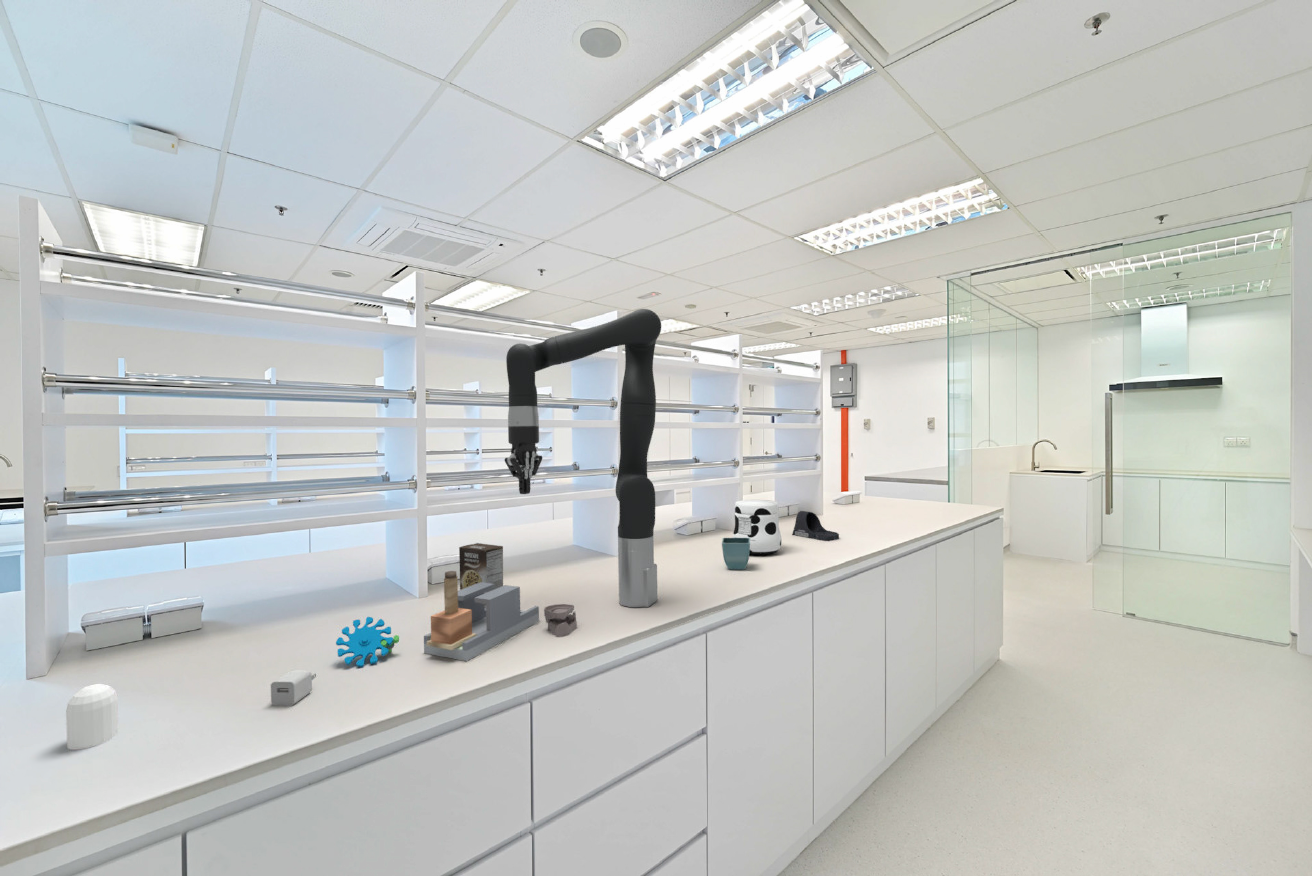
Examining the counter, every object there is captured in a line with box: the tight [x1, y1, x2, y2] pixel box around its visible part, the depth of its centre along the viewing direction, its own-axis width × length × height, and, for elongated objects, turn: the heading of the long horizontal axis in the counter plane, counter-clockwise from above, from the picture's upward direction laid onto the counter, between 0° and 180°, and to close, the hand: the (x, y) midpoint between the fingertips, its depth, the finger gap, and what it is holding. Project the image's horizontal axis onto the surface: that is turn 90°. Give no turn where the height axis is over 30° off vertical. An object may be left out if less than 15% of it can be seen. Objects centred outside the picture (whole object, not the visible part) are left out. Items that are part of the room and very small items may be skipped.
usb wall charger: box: [270, 669, 317, 706], centre depth 95 cm, size 4×7×4 cm, turn 178°
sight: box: [791, 510, 840, 542], centre depth 226 cm, size 9×18×10 cm, turn 36°
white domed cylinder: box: [65, 683, 120, 751], centre depth 82 cm, size 5×5×8 cm
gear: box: [335, 616, 400, 668], centre depth 110 cm, size 11×6×10 cm
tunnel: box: [423, 582, 540, 662], centre depth 121 cm, size 11×24×10 cm, turn 157°
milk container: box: [732, 499, 782, 555], centre depth 199 cm, size 17×17×18 cm
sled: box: [427, 570, 477, 650], centre depth 111 cm, size 6×7×14 cm
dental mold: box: [543, 603, 578, 638], centre depth 124 cm, size 8×7×5 cm
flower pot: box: [721, 537, 750, 571], centre depth 177 cm, size 9×9×9 cm
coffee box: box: [458, 542, 504, 608], centre depth 139 cm, size 9×6×16 cm
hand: (524, 493), depth 139 cm, fingers closed
